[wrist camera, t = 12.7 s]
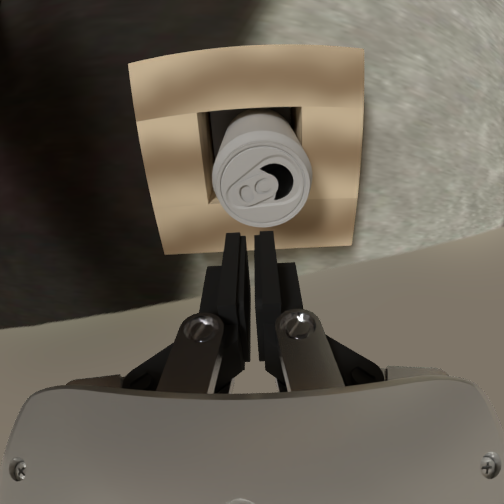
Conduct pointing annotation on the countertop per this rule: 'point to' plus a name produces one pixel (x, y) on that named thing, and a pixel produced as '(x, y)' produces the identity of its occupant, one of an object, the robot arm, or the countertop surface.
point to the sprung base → (224, 118)
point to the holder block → (238, 97)
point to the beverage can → (261, 170)
